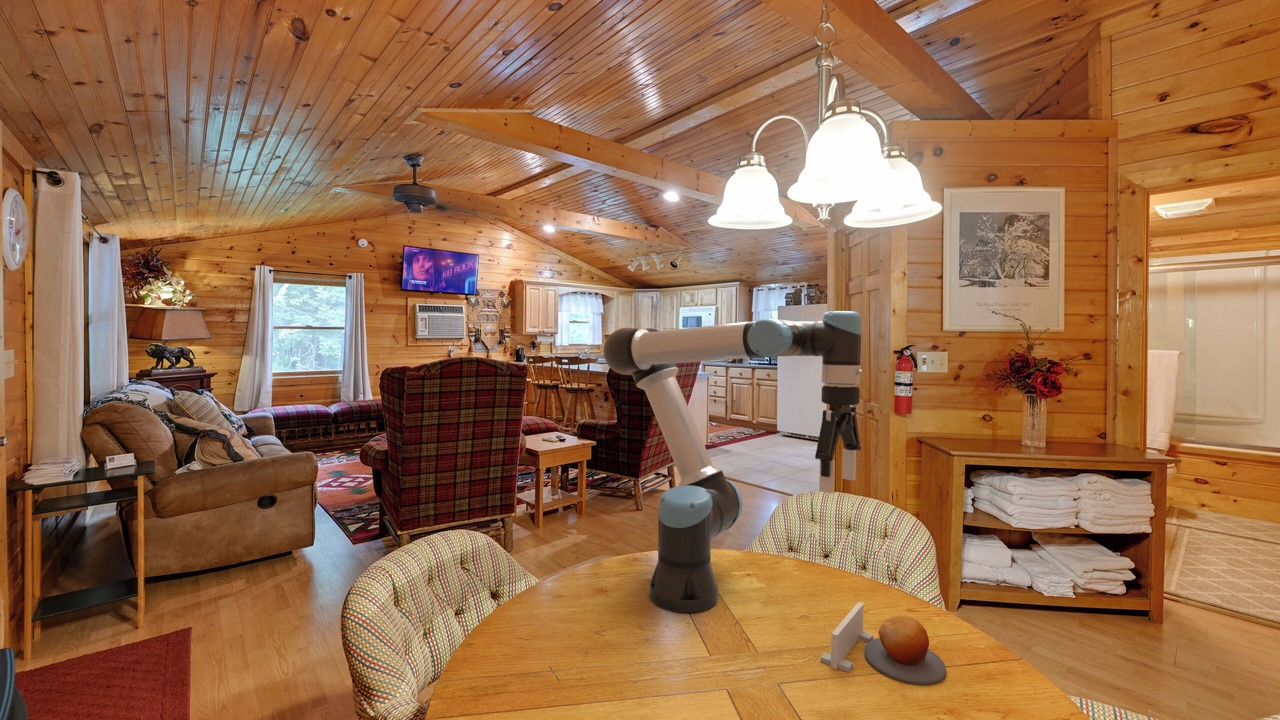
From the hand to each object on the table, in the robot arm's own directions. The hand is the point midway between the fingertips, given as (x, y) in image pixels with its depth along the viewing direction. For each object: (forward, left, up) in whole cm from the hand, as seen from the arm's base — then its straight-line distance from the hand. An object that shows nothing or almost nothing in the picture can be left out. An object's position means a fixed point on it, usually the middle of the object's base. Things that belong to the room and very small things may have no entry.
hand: (838, 485), depth 114 cm
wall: (+7, -14, -27) cm, 31 cm away
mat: (+16, -11, -27) cm, 33 cm away
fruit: (+16, -11, -26) cm, 32 cm away
